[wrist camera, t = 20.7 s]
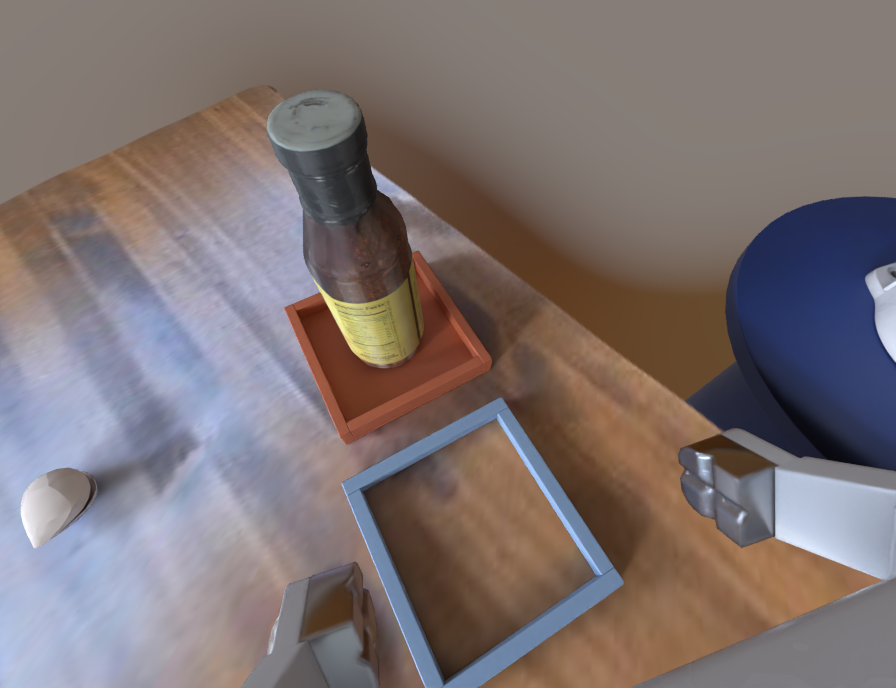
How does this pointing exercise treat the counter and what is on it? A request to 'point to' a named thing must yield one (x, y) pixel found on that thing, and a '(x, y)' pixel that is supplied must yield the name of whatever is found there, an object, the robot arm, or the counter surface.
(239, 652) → the counter surface
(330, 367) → the terracotta tray
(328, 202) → the sauce bottle
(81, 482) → the clam shell
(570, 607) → the blue frame
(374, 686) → the robot arm
